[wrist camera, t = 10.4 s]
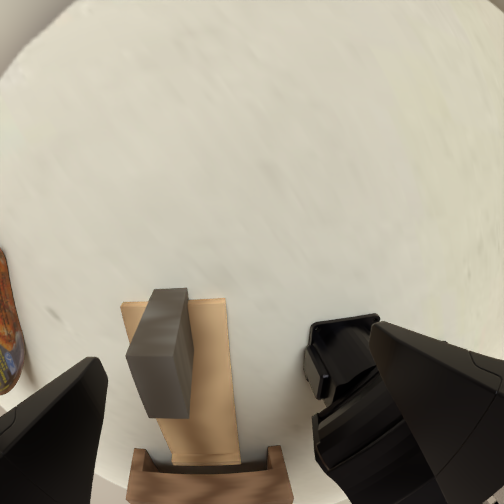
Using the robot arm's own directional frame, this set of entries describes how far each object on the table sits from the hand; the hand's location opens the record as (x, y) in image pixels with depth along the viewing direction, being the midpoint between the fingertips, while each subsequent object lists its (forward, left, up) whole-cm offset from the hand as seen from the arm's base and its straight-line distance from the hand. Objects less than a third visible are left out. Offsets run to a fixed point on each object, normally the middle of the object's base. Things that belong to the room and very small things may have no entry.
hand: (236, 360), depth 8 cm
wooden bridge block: (+4, +30, -12) cm, 33 cm away
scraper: (+4, +14, -12) cm, 19 cm away
